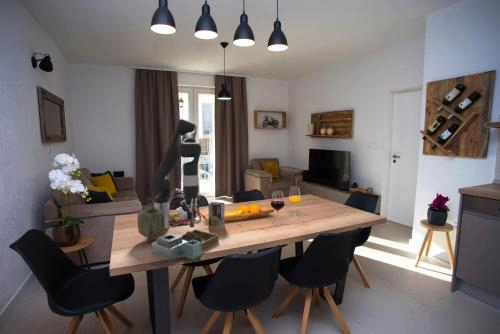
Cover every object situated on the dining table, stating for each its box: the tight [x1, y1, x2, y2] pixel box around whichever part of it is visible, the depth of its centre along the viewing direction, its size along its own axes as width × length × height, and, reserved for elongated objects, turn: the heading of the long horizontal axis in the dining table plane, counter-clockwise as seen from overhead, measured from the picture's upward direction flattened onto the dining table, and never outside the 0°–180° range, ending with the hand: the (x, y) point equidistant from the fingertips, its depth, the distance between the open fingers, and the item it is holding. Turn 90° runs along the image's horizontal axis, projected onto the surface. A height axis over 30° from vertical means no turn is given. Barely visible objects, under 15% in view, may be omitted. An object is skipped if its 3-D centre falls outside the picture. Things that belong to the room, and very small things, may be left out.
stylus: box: [189, 204, 195, 228], centre depth 134 cm, size 2×2×12 cm
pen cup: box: [184, 240, 202, 260], centre depth 137 cm, size 6×6×7 cm
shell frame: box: [180, 229, 220, 252], centre depth 152 cm, size 17×16×4 cm
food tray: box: [169, 206, 203, 226], centre depth 193 cm, size 25×24×9 cm
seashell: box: [185, 231, 203, 243], centre depth 151 cm, size 11×12×10 cm
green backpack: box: [137, 197, 166, 243], centre depth 154 cm, size 14×9×25 cm, turn 48°
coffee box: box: [207, 201, 226, 230], centre depth 179 cm, size 9×6×16 cm
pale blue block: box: [151, 232, 188, 262], centre depth 139 cm, size 14×11×8 cm
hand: (191, 218), depth 134 cm, fingers closed on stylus, 2 cm apart
